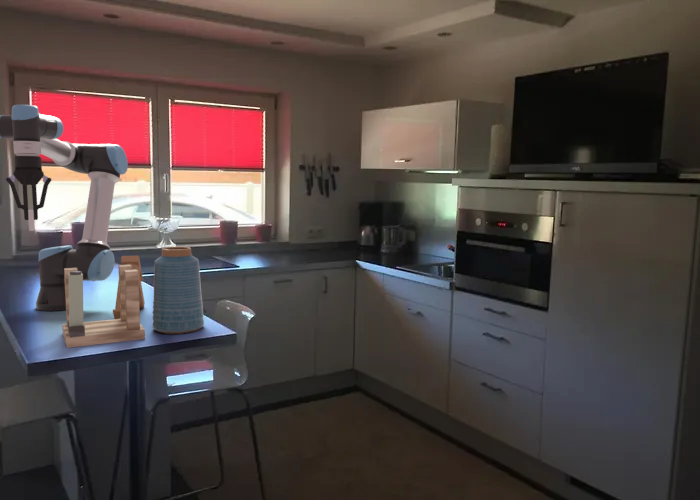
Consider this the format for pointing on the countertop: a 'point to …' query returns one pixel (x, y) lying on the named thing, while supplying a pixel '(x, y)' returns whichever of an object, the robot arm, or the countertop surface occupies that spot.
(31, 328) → the countertop surface
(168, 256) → the vase
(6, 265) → the countertop surface
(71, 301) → the stool leg
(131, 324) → the wooden rack
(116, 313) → the tan wooden piece
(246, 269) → the countertop surface
